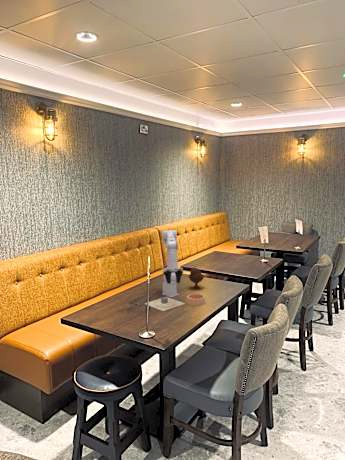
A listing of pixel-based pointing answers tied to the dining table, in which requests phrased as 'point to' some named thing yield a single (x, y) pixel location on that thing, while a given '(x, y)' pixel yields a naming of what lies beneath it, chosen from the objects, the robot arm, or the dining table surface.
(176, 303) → the mat
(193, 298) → the bowl
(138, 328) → the dining table surface
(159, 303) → the lid
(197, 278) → the brown miniature tree
